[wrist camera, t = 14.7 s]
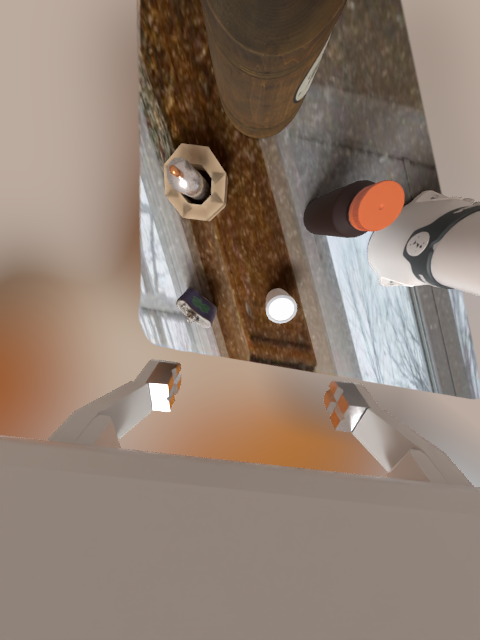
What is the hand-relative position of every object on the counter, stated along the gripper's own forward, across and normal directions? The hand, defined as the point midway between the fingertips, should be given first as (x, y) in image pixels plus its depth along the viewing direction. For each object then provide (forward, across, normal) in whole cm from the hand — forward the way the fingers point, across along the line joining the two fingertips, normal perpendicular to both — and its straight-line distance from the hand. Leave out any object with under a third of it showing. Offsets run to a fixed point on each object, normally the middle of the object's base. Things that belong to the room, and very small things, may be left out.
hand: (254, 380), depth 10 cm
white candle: (+37, +12, -13) cm, 41 cm away
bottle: (+37, -13, -11) cm, 41 cm away
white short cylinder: (+37, -8, +8) cm, 39 cm away
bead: (+37, +12, -13) cm, 41 cm away
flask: (+37, +11, +11) cm, 40 cm away
